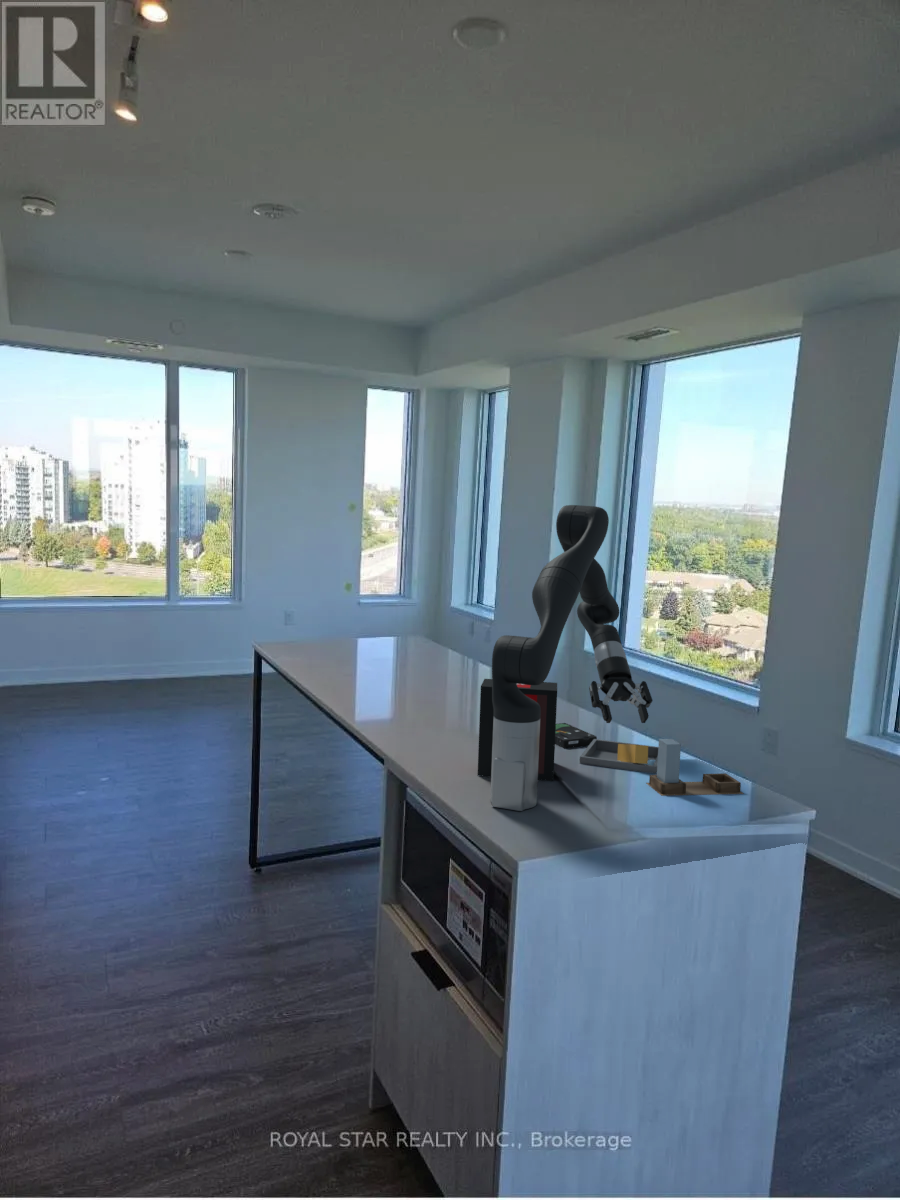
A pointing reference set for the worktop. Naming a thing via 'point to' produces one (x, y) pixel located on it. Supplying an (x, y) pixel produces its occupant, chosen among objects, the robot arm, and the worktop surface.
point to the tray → (607, 756)
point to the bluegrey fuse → (668, 761)
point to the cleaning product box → (548, 704)
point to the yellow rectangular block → (633, 753)
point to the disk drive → (572, 736)
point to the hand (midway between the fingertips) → (627, 721)
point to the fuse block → (698, 786)
